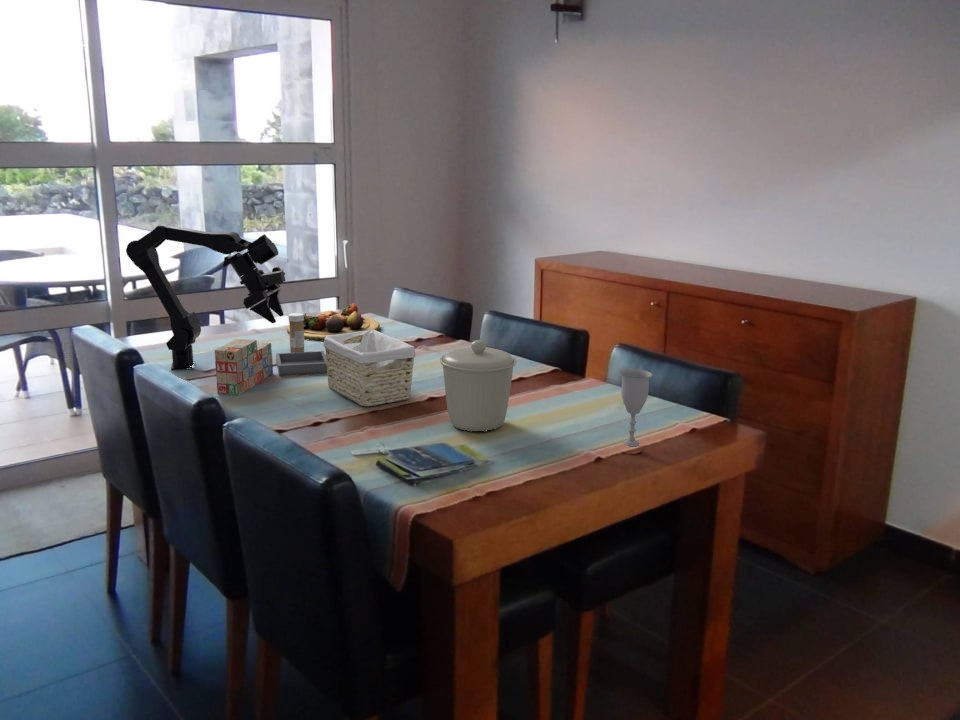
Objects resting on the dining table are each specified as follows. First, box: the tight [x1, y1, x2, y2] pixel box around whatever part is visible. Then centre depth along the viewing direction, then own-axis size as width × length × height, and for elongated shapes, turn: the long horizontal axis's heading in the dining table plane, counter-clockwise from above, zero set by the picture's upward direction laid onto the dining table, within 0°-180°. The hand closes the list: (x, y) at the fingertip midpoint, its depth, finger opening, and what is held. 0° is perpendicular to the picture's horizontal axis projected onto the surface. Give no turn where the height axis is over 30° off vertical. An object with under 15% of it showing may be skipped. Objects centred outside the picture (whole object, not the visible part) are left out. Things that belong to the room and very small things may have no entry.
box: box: [275, 350, 328, 377], centre depth 249 cm, size 14×14×3 cm
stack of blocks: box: [214, 338, 274, 396], centre depth 232 cm, size 21×6×12 cm, turn 169°
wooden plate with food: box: [286, 303, 381, 342], centre depth 295 cm, size 32×32×8 cm
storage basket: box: [322, 330, 416, 407], centre depth 225 cm, size 24×16×15 cm
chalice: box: [620, 368, 653, 447], centre depth 188 cm, size 7×7×18 cm
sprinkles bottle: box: [288, 312, 305, 353], centre depth 260 cm, size 5×5×13 cm
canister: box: [439, 339, 517, 432], centre depth 201 cm, size 18×18×21 cm
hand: (278, 319), depth 244 cm, fingers open, 9 cm apart
